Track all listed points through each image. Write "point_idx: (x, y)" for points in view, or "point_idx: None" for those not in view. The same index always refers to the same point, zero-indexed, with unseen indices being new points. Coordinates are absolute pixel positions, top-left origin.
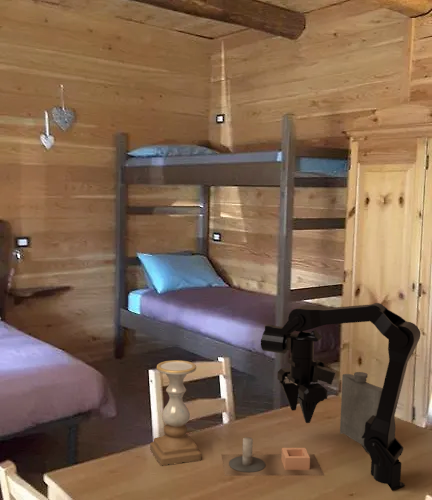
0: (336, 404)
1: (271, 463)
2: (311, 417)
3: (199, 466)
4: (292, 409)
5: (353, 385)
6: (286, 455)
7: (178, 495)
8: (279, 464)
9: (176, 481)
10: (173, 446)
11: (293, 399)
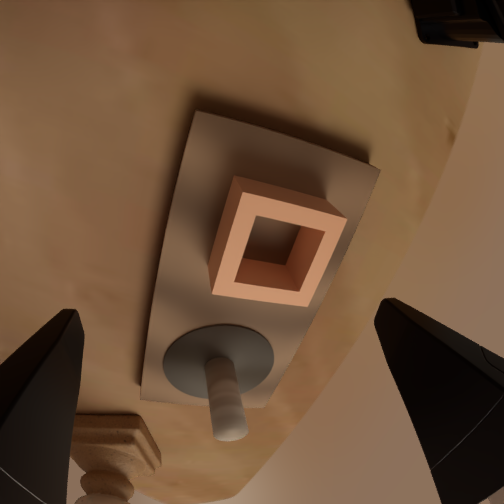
0: None
1: (232, 306)
2: (429, 320)
3: (171, 420)
4: (83, 340)
5: None
6: (290, 298)
7: (282, 442)
8: None
9: (231, 446)
10: (142, 471)
11: (52, 409)
